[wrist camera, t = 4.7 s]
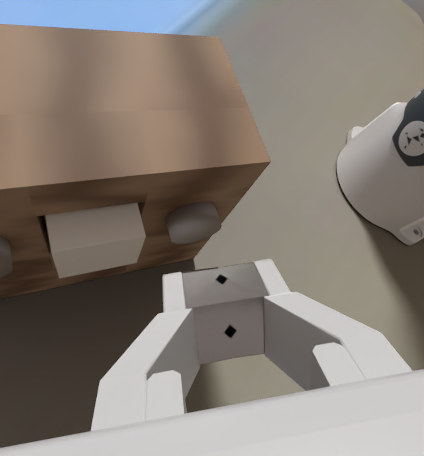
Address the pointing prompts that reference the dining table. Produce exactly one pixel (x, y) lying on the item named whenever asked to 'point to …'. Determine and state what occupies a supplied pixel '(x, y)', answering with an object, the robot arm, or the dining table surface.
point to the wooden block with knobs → (117, 142)
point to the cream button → (95, 238)
